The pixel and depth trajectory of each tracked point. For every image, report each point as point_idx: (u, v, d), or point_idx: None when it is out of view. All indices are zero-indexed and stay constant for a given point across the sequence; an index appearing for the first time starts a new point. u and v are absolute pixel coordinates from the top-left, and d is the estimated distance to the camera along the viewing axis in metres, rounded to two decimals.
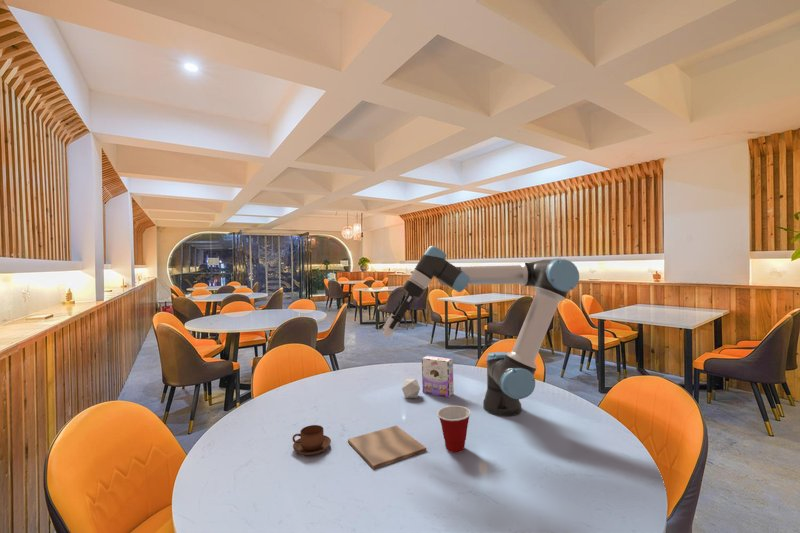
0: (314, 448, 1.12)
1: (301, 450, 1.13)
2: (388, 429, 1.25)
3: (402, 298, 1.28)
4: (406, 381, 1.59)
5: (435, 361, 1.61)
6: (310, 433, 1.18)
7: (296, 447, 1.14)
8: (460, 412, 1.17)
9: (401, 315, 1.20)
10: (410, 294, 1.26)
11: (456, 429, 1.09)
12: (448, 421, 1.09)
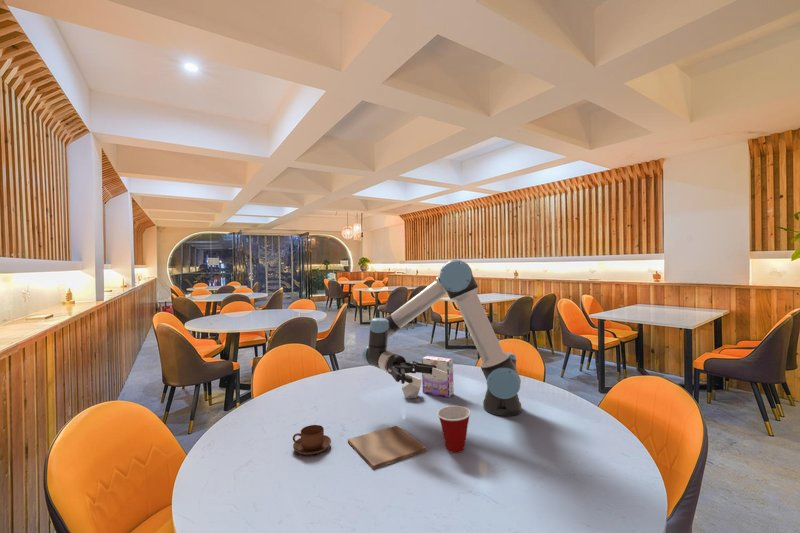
0: (314, 448, 1.12)
1: (301, 450, 1.13)
2: (388, 429, 1.25)
3: None
4: None
5: (435, 361, 1.61)
6: (310, 433, 1.18)
7: (296, 447, 1.14)
8: (460, 412, 1.17)
9: (395, 375, 1.21)
10: None
11: (456, 429, 1.09)
12: (448, 421, 1.09)
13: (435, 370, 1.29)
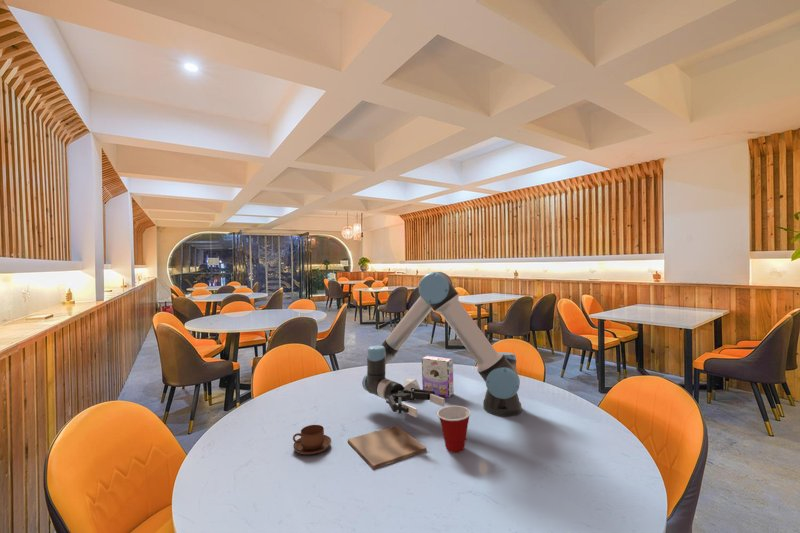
0: (314, 448, 1.12)
1: (301, 450, 1.13)
2: (388, 429, 1.25)
3: None
4: (406, 381, 1.59)
5: (435, 361, 1.61)
6: (310, 432, 1.19)
7: (296, 447, 1.14)
8: (460, 412, 1.17)
9: (392, 405, 1.22)
10: None
11: (456, 429, 1.09)
12: (448, 421, 1.09)
13: (433, 396, 1.29)
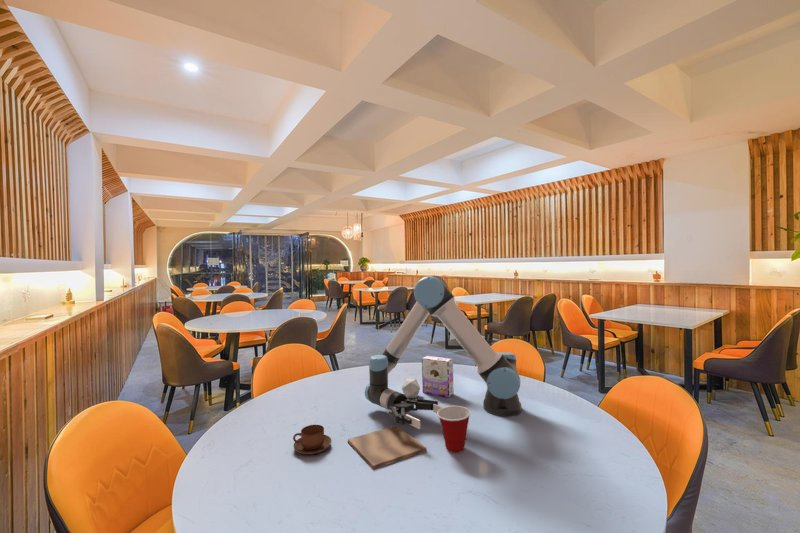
0: (315, 448, 1.12)
1: (302, 449, 1.13)
2: (388, 429, 1.25)
3: None
4: (406, 381, 1.59)
5: (435, 361, 1.61)
6: (311, 432, 1.19)
7: (297, 446, 1.14)
8: (460, 412, 1.17)
9: (395, 416, 1.21)
10: None
11: (456, 429, 1.09)
12: (448, 421, 1.09)
13: (436, 406, 1.28)
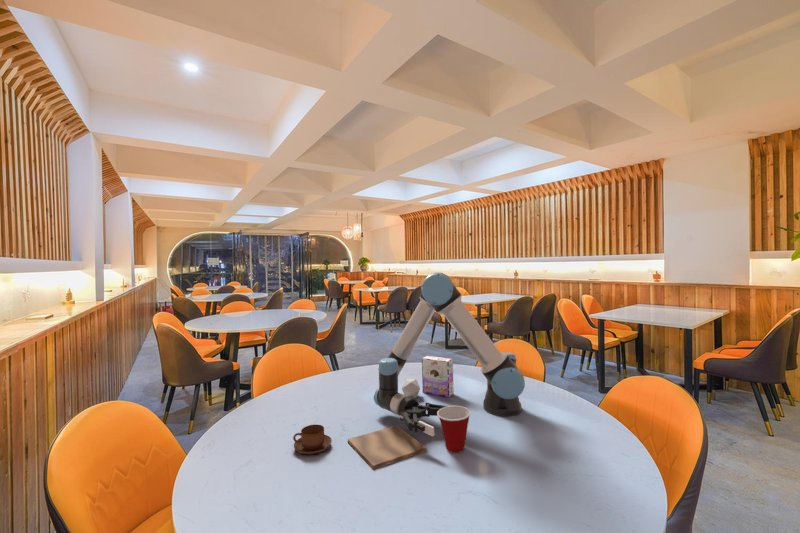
0: (315, 447, 1.12)
1: (302, 449, 1.14)
2: (388, 429, 1.25)
3: None
4: (406, 381, 1.59)
5: (435, 361, 1.61)
6: (311, 432, 1.19)
7: (297, 446, 1.15)
8: (460, 412, 1.17)
9: (407, 423, 1.16)
10: None
11: (456, 429, 1.09)
12: (448, 421, 1.09)
13: None
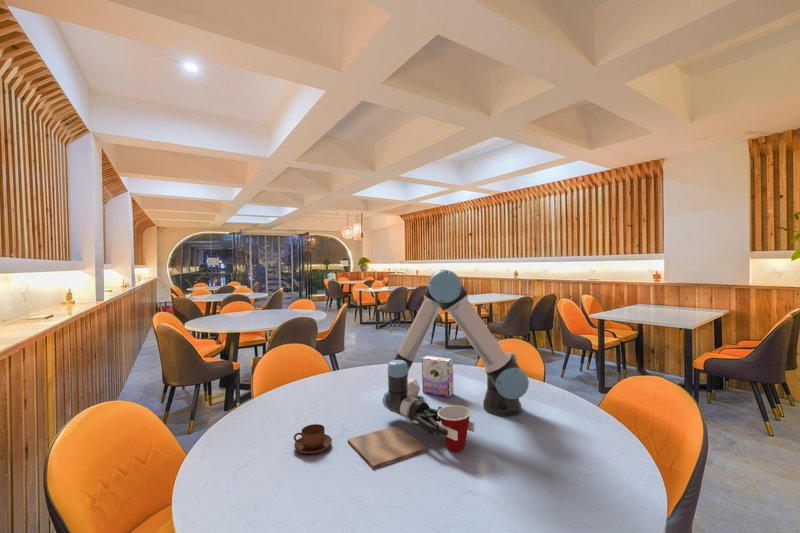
0: (315, 447, 1.13)
1: (302, 449, 1.14)
2: (388, 429, 1.25)
3: None
4: None
5: (435, 361, 1.61)
6: (311, 432, 1.19)
7: (297, 446, 1.15)
8: (460, 411, 1.18)
9: (428, 427, 1.12)
10: (416, 417, 1.21)
11: (457, 429, 1.10)
12: (449, 421, 1.09)
13: None
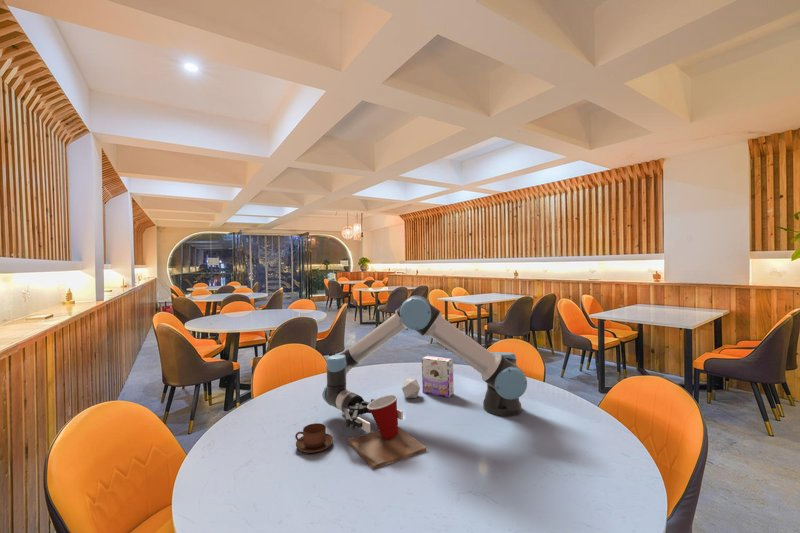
0: (316, 446, 1.13)
1: (304, 448, 1.15)
2: None
3: None
4: (406, 381, 1.59)
5: (435, 361, 1.61)
6: (313, 431, 1.20)
7: (299, 445, 1.16)
8: (389, 400, 1.25)
9: (346, 419, 1.16)
10: (348, 410, 1.25)
11: (386, 415, 1.16)
12: (377, 409, 1.16)
13: None
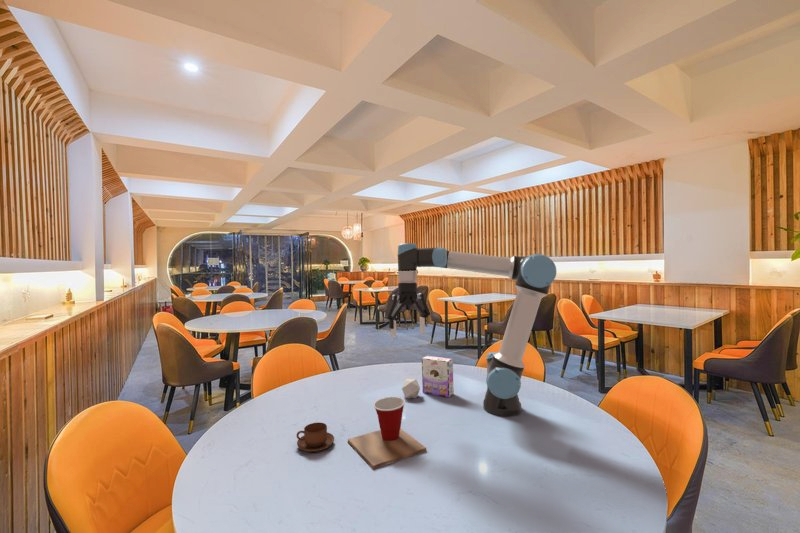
0: (317, 445, 1.14)
1: (305, 447, 1.15)
2: None
3: None
4: (406, 381, 1.59)
5: (435, 361, 1.61)
6: (314, 430, 1.20)
7: (300, 444, 1.16)
8: (395, 402, 1.24)
9: (387, 313, 1.35)
10: (399, 293, 1.39)
11: (392, 418, 1.16)
12: (385, 411, 1.15)
13: (422, 321, 1.43)
